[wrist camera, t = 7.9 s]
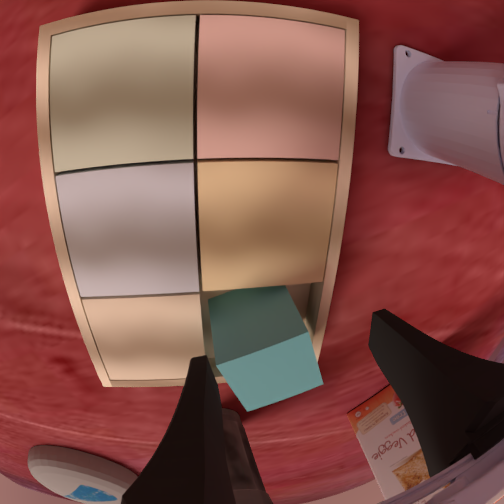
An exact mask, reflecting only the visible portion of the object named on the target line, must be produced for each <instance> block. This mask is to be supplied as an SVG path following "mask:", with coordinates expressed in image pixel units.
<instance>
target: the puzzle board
mask: <svg viewBox="0 0 504 504" xmlns="http://www.w3.org/2000/svg"><path fill="white" fill-rule="evenodd" d="M358 65H359V20H357V19H353V18H349V17H345V16H340V15H336V14H331V13H327V12H322V11H316V10H311V9H305V8H299V7H292V6H285V5H277V4H268V3H258V2H244V1H219V0H197V1H172V2H159V3H148V4H139V5H132V6H125V7H118V8H112V9H106V10H101V11H96V12H91V13H87V14H82V15H78V16H74V17H70V18H66V19H62V20H59V21H55V22H52V23H48V24H45V25H42V26H40V29H39V39H38V52H37V73H36V109H37V131H38V144H39V155H40V164H41V173H42V180H43V187H44V194H45V200H46V205H47V211H48V216H49V221H50V226H51V231H52V236H53V240H54V245H55V249H56V253H57V257H58V261H59V265H60V268H61V272H62V276H63V279H64V283H65V286H66V289H67V293H68V296H69V299H70V302H71V305H72V308H73V311H74V314H75V317H76V320H77V323H78V326H79V329H80V331H81V334H82V337H83V339H84V342H85V345H86V347H87V350H88V352H89V355H90V357H91V359H92V362H93V364H94V367H95V369H96V371H97V373H98V376H99V378H100V380H101V382H102V385H103V387H161V386H184V384H185V380H186V377H187V373H188V368H189V364H190V360H191V358H193V357H198V356H203V355H207V357H208V360H209V363H210V366H211V368H212V371H213V374H214V376H215V379H216V382H217V383H226V382H227V381H226V380H225V378H224V377H223V375H222V374H221V372H220V371H219V369H218V368H217V366H216V362H215V354H214V347H213V339H212V331H211V322H210V314H209V305H208V299H210V298H213V297H216V296H218V295H221V294H224V293H226V292H229V291H232V290H234V289H243V288H256V287H269V286H281V285H285V286H286V288H287V290H288V292H289V294H290V296H291V298H292V300H293V302H294V304H295V306H296V308H297V310H298V312H299V314H300V316H301V318H302V320H303V322H304V324H305V326H306V328H307V330H308V332H309V335H310V339H311V342H312V346H313V349H314V352H315V356H316V359H317V362H318V358H319V354H320V350H321V345H322V341H323V337H324V332H325V328H326V323H327V318H328V313H329V309H330V304H331V299H332V293H333V288H334V283H335V277H336V272H337V266H338V260H339V254H340V248H341V242H342V236H343V229H344V222H345V215H346V208H347V200H348V193H349V184H350V176H351V167H352V157H353V146H354V135H355V122H356V108H357V90H358Z"/></svg>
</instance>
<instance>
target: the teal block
mask: <svg viewBox="0 0 504 504" xmlns="http://www.w3.org/2000/svg"><path fill="white" fill-rule="evenodd" d="M208 305H209V314H210V322H211V331H212V339H213V347H214V354H215V362H216V366H217V368H218V369H219V371H220V372H221V374H222V375H223V377H224V378H225V380H226V381H227V383H228V384H229V386H230V387H231V389H232V390H233V392H234V393H235V395H236V396H237V397H238V399H239V400H240V402H241V403H242V405H243V406H244V407H245V409H246V410H247V412H248V411H251V410H254V409H257V408H260V407H263V406H266V405H269V404H272V403H275V402H278V401H281V400H284V399H286V398H289V397H292V396H294V395H297V394H300V393H302V392H305V391H307V390H310V389H312V388H315V387H317V386H320V385H322V384H323V381H322V377H321V373H320V370H319V366H318V363H317V359H316V356H315V352H314V349H313V346H312V342H311V339H310V335H309V332H308V330H307V328H306V326H305V324H304V322H303V320H302V318H301V316H300V314H299V312H298V310H297V308H296V306H295V304H294V302H293V300H292V298H291V296H290V294H289V292H288V290H287V288H286V286H285V285H281V286H269V287H256V288H243V289H234V290H232V291H229V292H226V293H224V294H221V295H218V296H216V297H213V298H210V299H208Z"/></svg>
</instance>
